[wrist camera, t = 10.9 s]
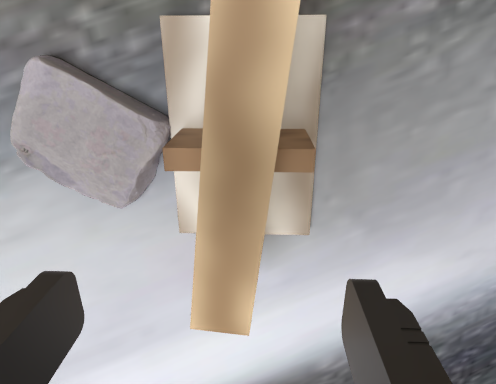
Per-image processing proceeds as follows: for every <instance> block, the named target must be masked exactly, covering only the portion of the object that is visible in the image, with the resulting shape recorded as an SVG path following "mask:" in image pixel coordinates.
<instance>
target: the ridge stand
mask: <svg viewBox="0 0 496 384" xmlns="http://www.w3.org/2000/svg"><path fill="white" fill-rule="evenodd" d="M209 23H210V15H208V16H160V24H161V35H162V46H163V57H164V68H165V78H166V89H167V100H168V111H169V122H170V126H171V128H170V133H171V140H170V141H169V142H168V143H167V144H166V145H165V146H164V147H163V148H162V149H163V159H164V169H165V171H174V177H175V188H176V199H177V209H178V220H179V231H180V233H196V229H197V213H198V197H199V182H200V166H201V150H202V134H203V118H204V103H205V87H206V71H207V55H208V39H209ZM325 26H326V15H298V19H297V26H296V32H295V39H294V45H293V52H292V58H291V65H290V71H289V78H288V84H287V91H286V97H285V104H284V111H283V117H282V124H281V130H280V137H279V143H278V150H277V156H276V163H275V169H274V176H273V182H272V189H271V195H270V202H269V208H268V215H267V221H266V228H265V234H274V235H309V233H310V220H311V207H312V194H313V181H314V168H315V155H316V142H317V130H318V117H319V104H320V91H321V78H322V65H323V52H324V39H325Z"/></svg>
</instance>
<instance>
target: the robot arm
mask: <svg viewBox="0 0 496 384" xmlns="http://www.w3.org/2000/svg"><path fill="white" fill-rule="evenodd" d="M83 323H84V310H83V306H82V302H81V298H80V294H79V289H78V285H77V281H76V277H75V275H74V274H73V273H72V272H64V271H44V272H42V273H40V274H39V275H38V276H37V277H36V278H35V279H34V280H33V281H32V282H31V283H30V284H29V285H28V286H27V287H26V288H22V289H21V290H19V291H17V292H16V293H14V294H12V295H11V296H9V297H8V298H6V299H4V300H3V301H2V302H1V303H0V384H48V383H49V381H50V380H51V378H52V377H53V375H54V374H55V372H56V370H57V369H58V367H59V366H60V364H61V363H62V361H63V360H64V358H65V356H66V355H67V353H68V352H69V350H70V349H71V347H72V346H73V344H74V343H75V341H76V339H77V338H78V336H79V335H80V333H81V330H82V328H83ZM342 339H343V344H344V348H345V352H346V355H347V359H348V363H349V366H350V370H351V374H352V377H353V381H354V384H452V382H451V381H450V379H449V377H448V375H447V373H446V372H445V370H444V368H443V366H442V365H441V363H440V361H439V359H438V358H437V356H436V354H435V352H434V350H433V349H432V347H431V346H429V342H428V340H427V338H426V336H425V334H424V333H423V332H422V331H421V327H420V326H419V324H418V322H417V320H416V318H415V317H414V315H413V313H412V312H411V311H410V310H409V309H408V308H406V307H405V306H404V305H403V304H402V303H401V302H400V301H399V300H398V299H386V297H385V295H384V293H383V291H382V289H381V287H380V285H379V283H378V282H377V280H366V279H349V280H348V281H347V285H346V293H345V300H344V307H343V315H342Z"/></svg>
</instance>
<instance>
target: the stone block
mask: <svg viewBox="0 0 496 384" xmlns="http://www.w3.org/2000/svg"><path fill="white" fill-rule="evenodd" d="M170 128H171V126H170V122H169V117H168V116H166V115H164V114H162V113H161V112H159V111H157V110H155V109H153V108H151V107H149V106H147V105H145V104H143V103H142V102H140V101H138V100H136V99H134V98H132V97H130V96H128V95H127V94H125V93H123V92H121V91H119V90H117V89H115V88H113V87H111V86H110V85H108V84H106V83H104V82H102V81H100V80H98V79H96V78H95V77H92V76H90V75H88V74H87V73H85V72H83V71H81V70H79V69H78V68H76V67H74V66H72V65H71V64H69V63H67V62H65V61H63V60H61V59H58V58H55V57H52V56H49V55H40V56H34V57H33V58H31V59H30V60H29V61H28V62H27V64H26V66H25V68H24V71H23V78H22V81H21V89H20V92H19V97H18V100H17V103H16V108H15V111H14V114H13V118H12V124H11V132H10V133H11V144H12V145H13V146H14V147H15V148H16V149H17V155H18V156H19V157H20V158H21V160H22V161H23V162H24V163H25V165H27V166H28V167H30V168H33V169H37V170H39V171H41V172H43V173H44V174H45V175H46V176H47V177H48V178H50V179H51V180H53V181H55V182H57V183H59V184H61V185H63V186H65V187H68V188H70V189H75V190H76V191H77V192H79V193H81V194H82V195H85V196H88V197H90V198H93V199H99V200H100V201H101V202H103V203H106V204H109V205H111V206H114V207H117V208H123V207H126V206H127V205H129V204H131V203H132V202H133V201H136V200H137V199H138V198H139V197H140V196H141V194H142V193H143V192H144V191H145V189H146V187H147V186H148V185H149V184H150V183H151V182H152V181H153V179H154V177H155V176H156V171H157V167H158V164H159V156H160V154H161V152H162V150H163V149H162V148H163V147H164V146H165V145H166V143H167V141H168V139H169V137H170V135H171V133H170Z"/></svg>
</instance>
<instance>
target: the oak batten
mask: <svg viewBox="0 0 496 384" xmlns="http://www.w3.org/2000/svg"><path fill="white" fill-rule="evenodd" d="M299 6H300V0H211V8H210V23H209V39H208V55H207V71H206V87H205V103H204V118H203V134H202V150H201V166H200V182H199V197H198V213H197V229H196V245H195V261H194V276H193V292H192V308H191V324H190V329H196V330H205V331H213V332H222V333H230V334H239V335H248V336H249V332H250V325H251V319H252V312H253V306H254V299H255V293H256V286H257V280H258V273H259V267H260V260H261V254H262V247H263V241H264V234H265V228H266V221H267V215H268V208H269V202H270V195H271V189H272V182H273V176H274V169H275V163H276V156H277V150H278V143H279V137H280V130H281V124H282V117H283V111H284V104H285V97H286V91H287V84H288V78H289V71H290V65H291V58H292V52H293V45H294V39H295V32H296V26H297V19H298V13H299Z"/></svg>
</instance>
